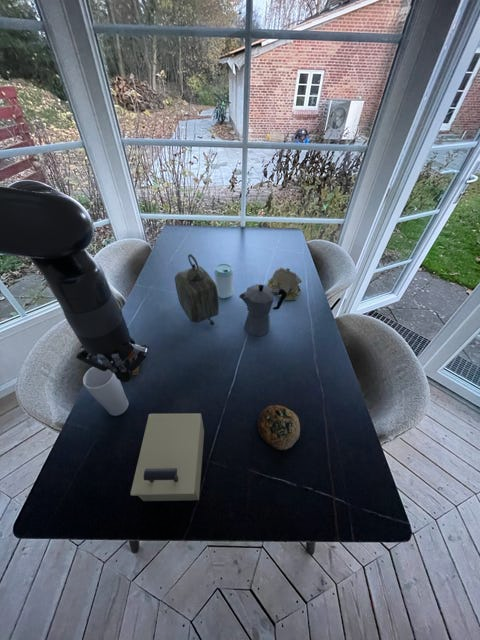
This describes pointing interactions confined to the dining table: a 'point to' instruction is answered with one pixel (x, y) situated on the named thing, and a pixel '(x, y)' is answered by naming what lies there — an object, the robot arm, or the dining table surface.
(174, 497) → the beige open box
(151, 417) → the lid
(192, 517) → the dining table surface
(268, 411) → the bread roll
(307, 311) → the dining table surface
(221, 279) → the can
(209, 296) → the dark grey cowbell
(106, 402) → the drinking glass
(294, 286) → the ceramic model
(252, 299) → the coffeepot
